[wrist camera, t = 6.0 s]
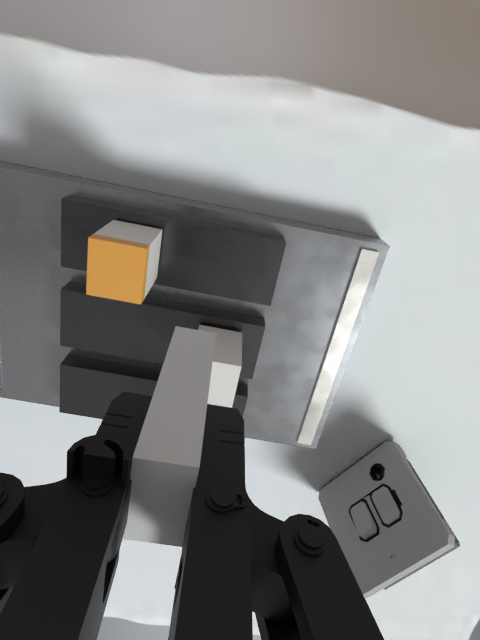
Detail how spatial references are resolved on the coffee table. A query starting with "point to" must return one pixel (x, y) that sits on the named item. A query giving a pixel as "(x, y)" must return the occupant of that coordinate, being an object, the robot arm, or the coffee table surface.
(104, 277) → the block
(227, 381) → the block
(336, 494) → the electrical switch
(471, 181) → the coffee table surface
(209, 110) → the coffee table surface
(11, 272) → the panel
